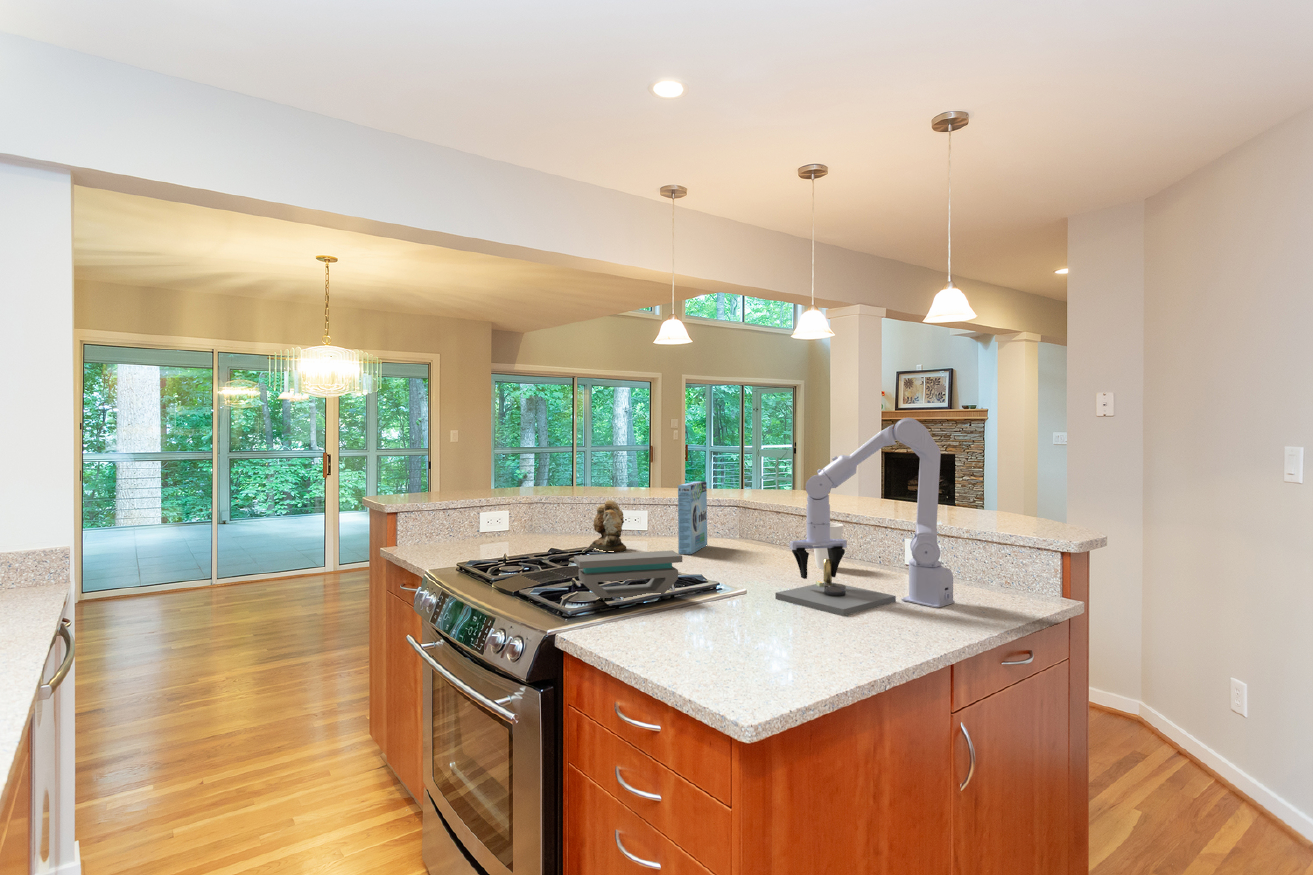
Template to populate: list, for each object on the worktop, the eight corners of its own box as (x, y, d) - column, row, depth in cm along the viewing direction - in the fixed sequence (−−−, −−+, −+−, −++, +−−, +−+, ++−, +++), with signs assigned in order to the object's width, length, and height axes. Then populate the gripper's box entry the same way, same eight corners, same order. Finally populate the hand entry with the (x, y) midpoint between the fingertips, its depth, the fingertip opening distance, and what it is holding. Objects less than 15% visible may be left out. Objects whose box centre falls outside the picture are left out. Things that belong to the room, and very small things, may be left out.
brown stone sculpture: (582, 546, 246) (582, 498, 246) (612, 544, 252) (612, 497, 252) (601, 554, 230) (601, 502, 230) (633, 551, 236) (634, 501, 236)
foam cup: (807, 569, 205) (807, 525, 204) (815, 564, 213) (815, 521, 213) (839, 572, 200) (839, 527, 200) (846, 566, 208) (846, 523, 208)
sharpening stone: (672, 593, 175) (672, 550, 175) (682, 600, 168) (682, 555, 168) (574, 600, 168) (573, 555, 168) (579, 608, 161) (579, 561, 161)
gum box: (691, 554, 229) (691, 485, 229) (677, 554, 231) (676, 485, 230) (707, 545, 247) (707, 481, 247) (694, 544, 249) (694, 480, 249)
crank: (848, 596, 165) (848, 566, 165) (827, 596, 165) (827, 566, 165) (836, 586, 176) (836, 558, 175) (816, 586, 176) (816, 558, 175)
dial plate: (895, 601, 166) (895, 592, 166) (843, 615, 154) (843, 605, 153) (827, 587, 182) (827, 578, 182) (775, 598, 169) (775, 589, 169)
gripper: (797, 526, 168) (797, 582, 169) (852, 524, 171) (852, 579, 172) (786, 522, 175) (786, 576, 176) (839, 520, 178) (839, 573, 179)
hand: (818, 577), depth 174 cm, fingers open, 7 cm apart
